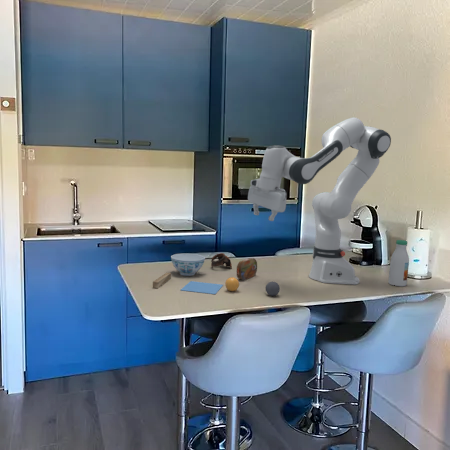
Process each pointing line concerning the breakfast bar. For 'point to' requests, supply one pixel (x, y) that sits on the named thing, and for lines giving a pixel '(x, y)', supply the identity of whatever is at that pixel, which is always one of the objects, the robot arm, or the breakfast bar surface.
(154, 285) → the wood strip
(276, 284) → the grey ball
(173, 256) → the chinaware
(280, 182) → the robot arm
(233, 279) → the orange ball
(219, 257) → the brown hollow arched shell
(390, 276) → the milk bottle
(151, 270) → the breakfast bar surface
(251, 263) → the tin
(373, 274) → the breakfast bar surface
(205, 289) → the blue mark
